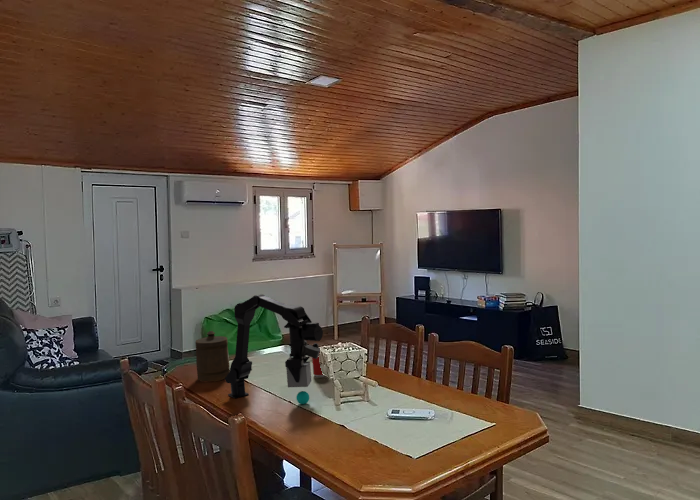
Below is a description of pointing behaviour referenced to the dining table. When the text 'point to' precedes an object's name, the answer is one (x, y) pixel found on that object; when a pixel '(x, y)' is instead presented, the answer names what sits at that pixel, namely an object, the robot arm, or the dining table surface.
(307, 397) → the ball
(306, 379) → the dark grey block
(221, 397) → the dining table surface
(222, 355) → the wooden container
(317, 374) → the beverage can
